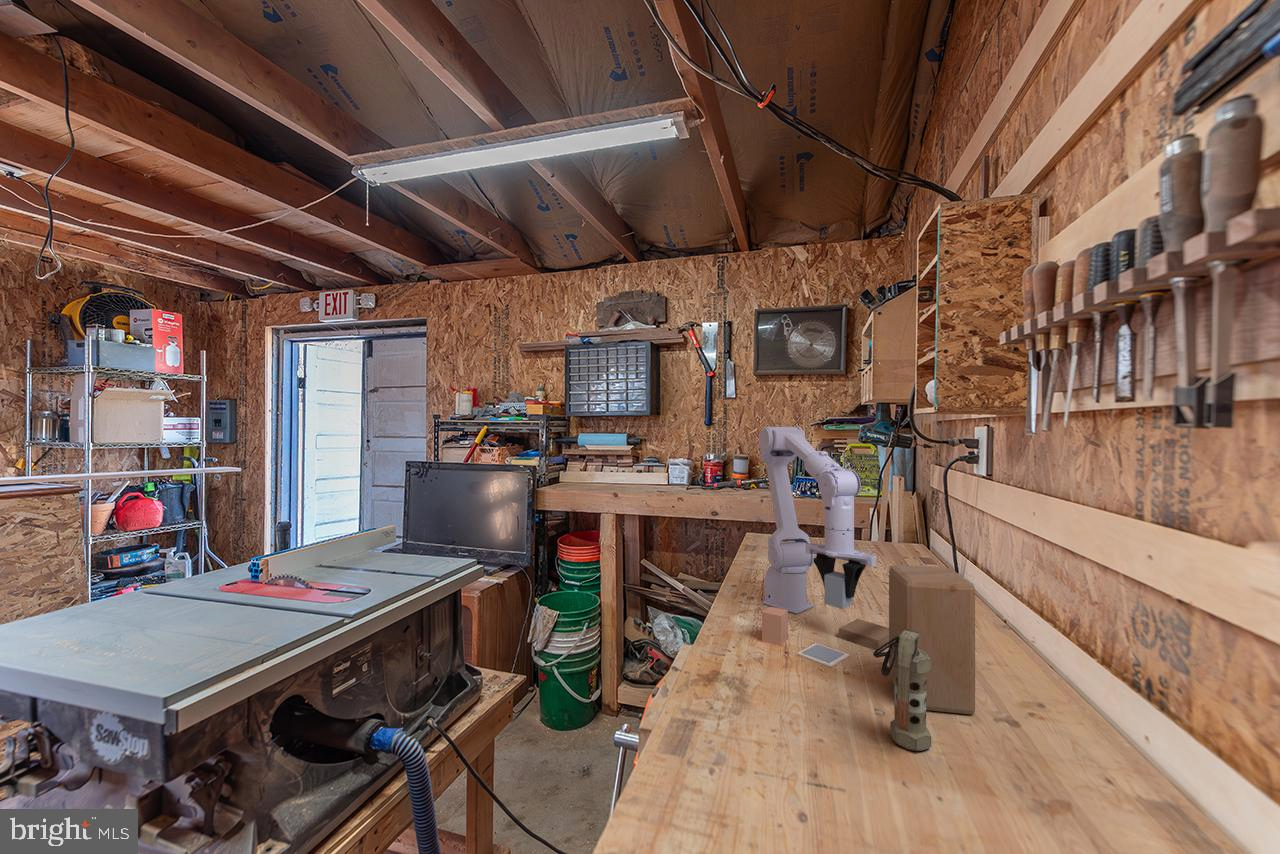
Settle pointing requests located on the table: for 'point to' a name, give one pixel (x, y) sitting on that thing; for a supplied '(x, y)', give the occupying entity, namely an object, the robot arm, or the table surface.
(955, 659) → the wooden block
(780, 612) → the terracotta block
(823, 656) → the tile
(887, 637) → the walnut slab
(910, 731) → the grenade model
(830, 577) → the blue block
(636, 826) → the table surface
